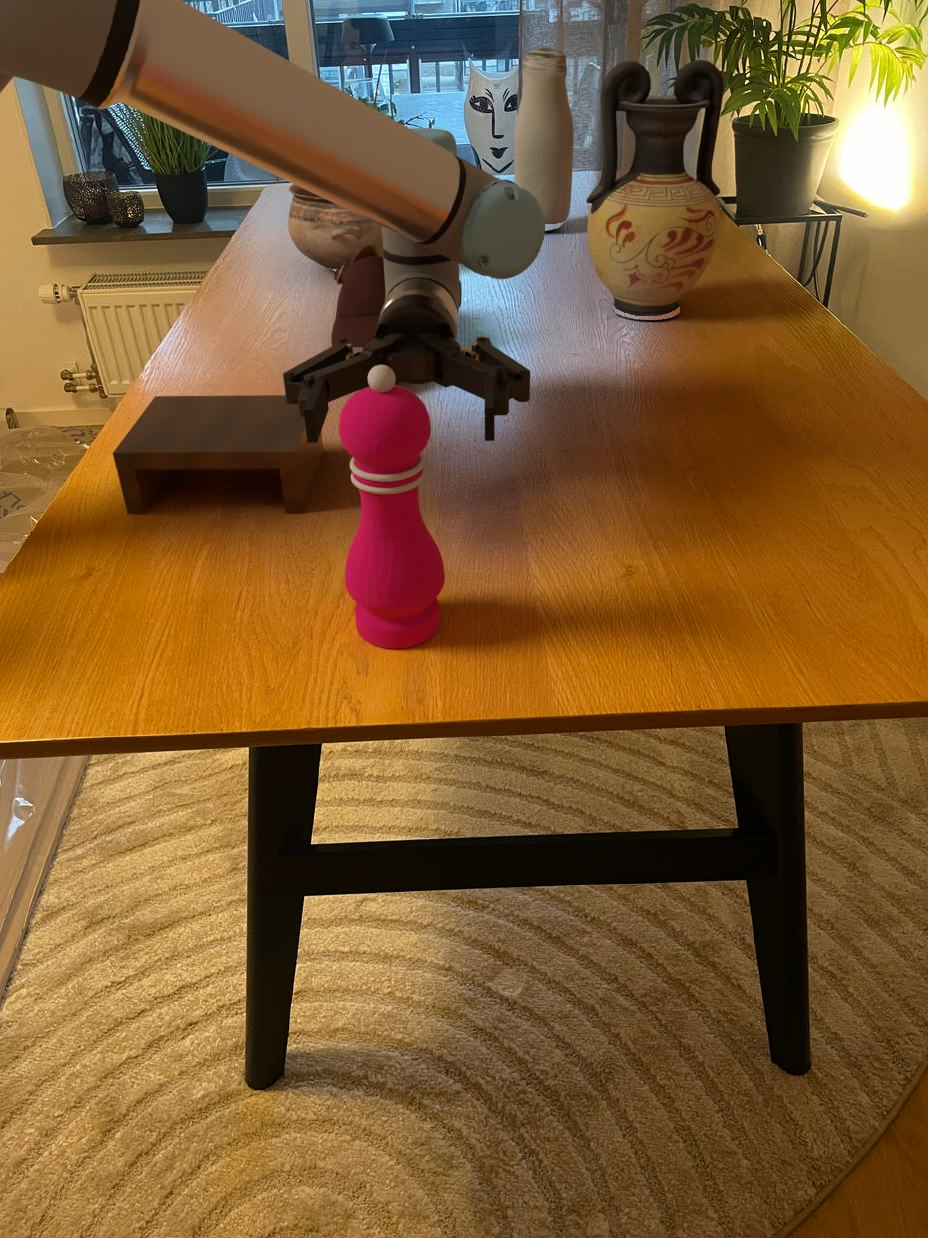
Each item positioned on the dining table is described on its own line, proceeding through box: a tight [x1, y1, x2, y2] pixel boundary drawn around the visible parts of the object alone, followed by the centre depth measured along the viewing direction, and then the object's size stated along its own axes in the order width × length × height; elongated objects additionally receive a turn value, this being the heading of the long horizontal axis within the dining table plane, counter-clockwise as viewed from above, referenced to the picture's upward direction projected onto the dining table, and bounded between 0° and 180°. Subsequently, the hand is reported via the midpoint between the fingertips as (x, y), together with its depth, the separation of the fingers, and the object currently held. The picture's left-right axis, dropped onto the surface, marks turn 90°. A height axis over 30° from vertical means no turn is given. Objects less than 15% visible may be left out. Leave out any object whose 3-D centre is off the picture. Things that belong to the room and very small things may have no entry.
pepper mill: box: [338, 365, 446, 650], centre depth 67 cm, size 7×7×20 cm
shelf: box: [112, 394, 325, 515], centre depth 91 cm, size 16×13×6 cm
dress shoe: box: [330, 244, 386, 387], centre depth 117 cm, size 9×28×12 cm, turn 5°
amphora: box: [586, 59, 725, 316], centre depth 125 cm, size 18×17×30 cm
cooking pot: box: [287, 183, 383, 269], centre depth 150 cm, size 25×19×12 cm
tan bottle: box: [513, 47, 575, 224], centre depth 164 cm, size 10×10×28 cm
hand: (399, 425), depth 73 cm, fingers open, 13 cm apart
